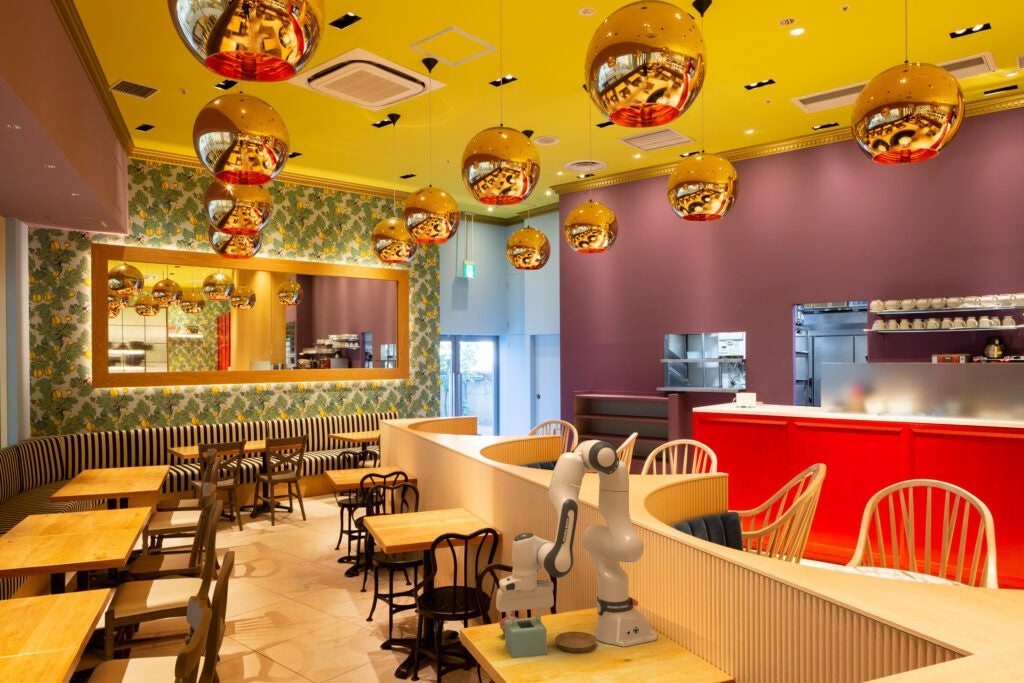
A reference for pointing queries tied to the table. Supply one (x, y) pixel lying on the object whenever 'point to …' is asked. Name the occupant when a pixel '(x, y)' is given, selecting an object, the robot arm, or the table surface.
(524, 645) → the coin box
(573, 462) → the robot arm
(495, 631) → the table surface
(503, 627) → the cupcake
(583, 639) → the plant saucer
